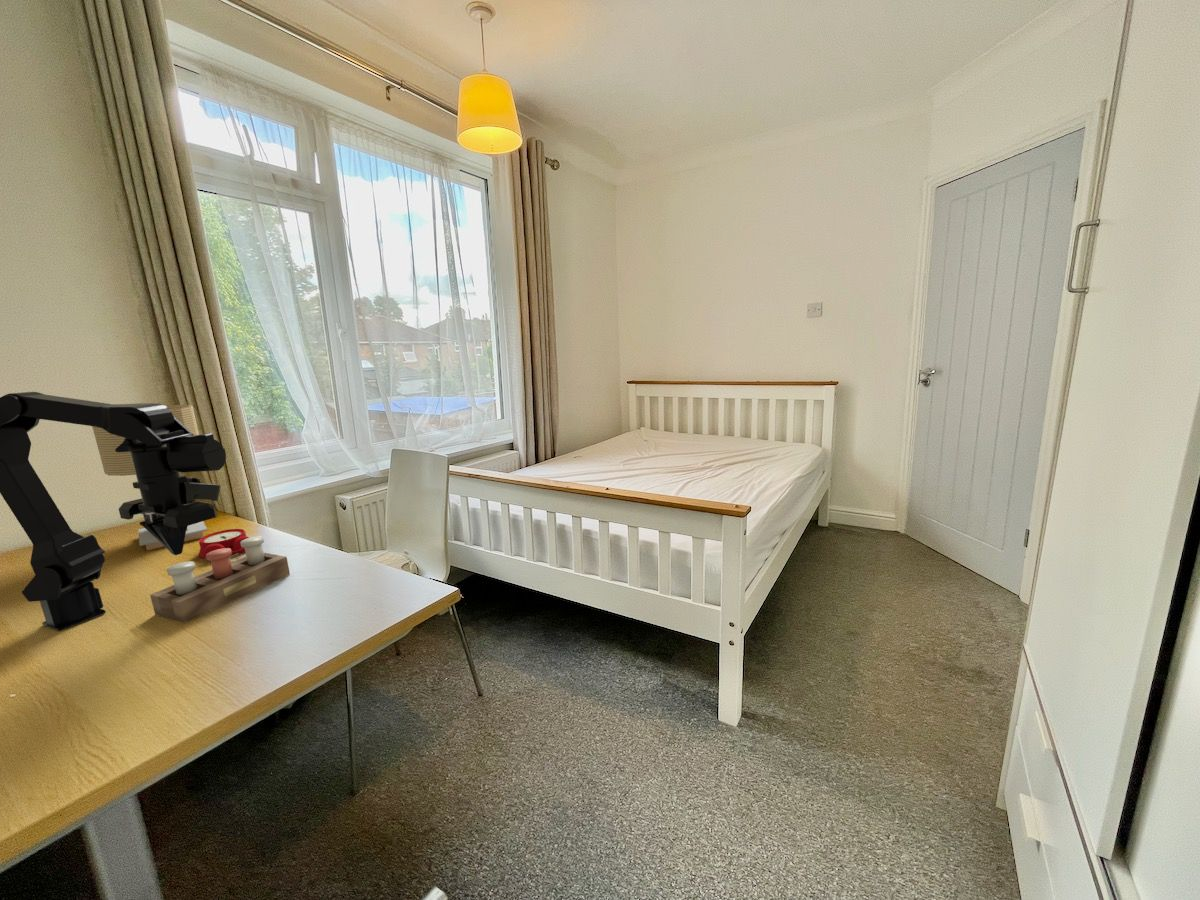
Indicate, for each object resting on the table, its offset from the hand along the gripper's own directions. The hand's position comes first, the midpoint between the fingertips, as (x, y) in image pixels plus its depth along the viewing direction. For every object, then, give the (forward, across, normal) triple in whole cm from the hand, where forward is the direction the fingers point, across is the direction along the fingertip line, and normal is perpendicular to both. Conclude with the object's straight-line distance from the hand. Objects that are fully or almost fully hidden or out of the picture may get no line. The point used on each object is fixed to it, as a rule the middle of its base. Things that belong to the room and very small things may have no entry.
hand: (177, 554), depth 89 cm
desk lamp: (+12, +50, -22) cm, 56 cm away
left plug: (+7, 0, 0) cm, 7 cm away
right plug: (+7, 0, -13) cm, 15 cm away
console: (+11, 0, -6) cm, 13 cm away
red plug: (+7, 0, -6) cm, 10 cm away
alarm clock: (+12, +24, -20) cm, 34 cm away
